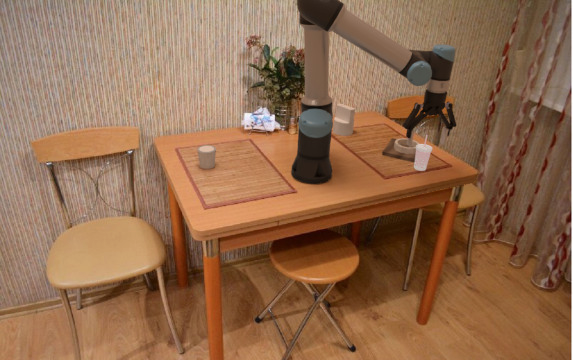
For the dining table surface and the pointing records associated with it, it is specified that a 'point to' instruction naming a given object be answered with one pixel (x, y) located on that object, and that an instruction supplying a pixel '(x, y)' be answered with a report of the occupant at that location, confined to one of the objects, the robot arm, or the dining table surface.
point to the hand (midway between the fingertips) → (425, 144)
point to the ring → (405, 149)
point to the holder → (393, 153)
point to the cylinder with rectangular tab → (344, 120)
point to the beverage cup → (422, 156)
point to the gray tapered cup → (206, 156)
